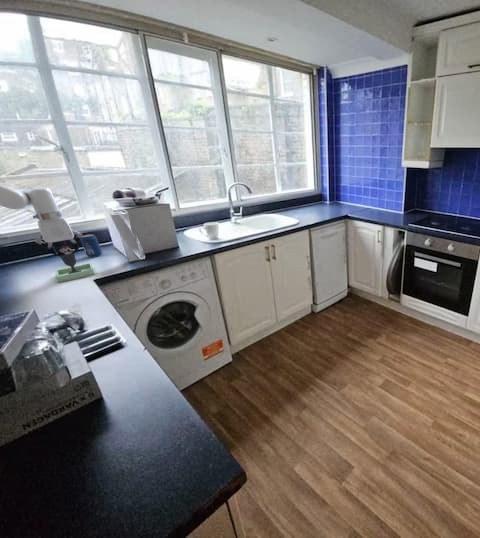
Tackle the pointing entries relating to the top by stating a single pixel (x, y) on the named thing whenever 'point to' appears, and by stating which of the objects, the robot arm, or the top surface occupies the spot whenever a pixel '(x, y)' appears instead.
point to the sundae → (68, 257)
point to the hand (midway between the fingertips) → (66, 253)
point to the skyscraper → (128, 236)
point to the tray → (64, 276)
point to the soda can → (91, 245)
